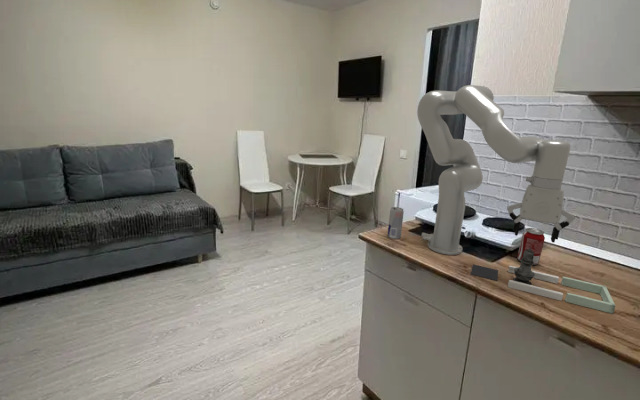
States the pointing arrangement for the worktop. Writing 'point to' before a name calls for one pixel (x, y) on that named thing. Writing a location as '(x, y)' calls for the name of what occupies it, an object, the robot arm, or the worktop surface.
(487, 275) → the dark grey coaster
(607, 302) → the frame
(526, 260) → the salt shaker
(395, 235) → the energy drink
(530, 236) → the soda can
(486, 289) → the worktop surface
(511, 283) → the channel
